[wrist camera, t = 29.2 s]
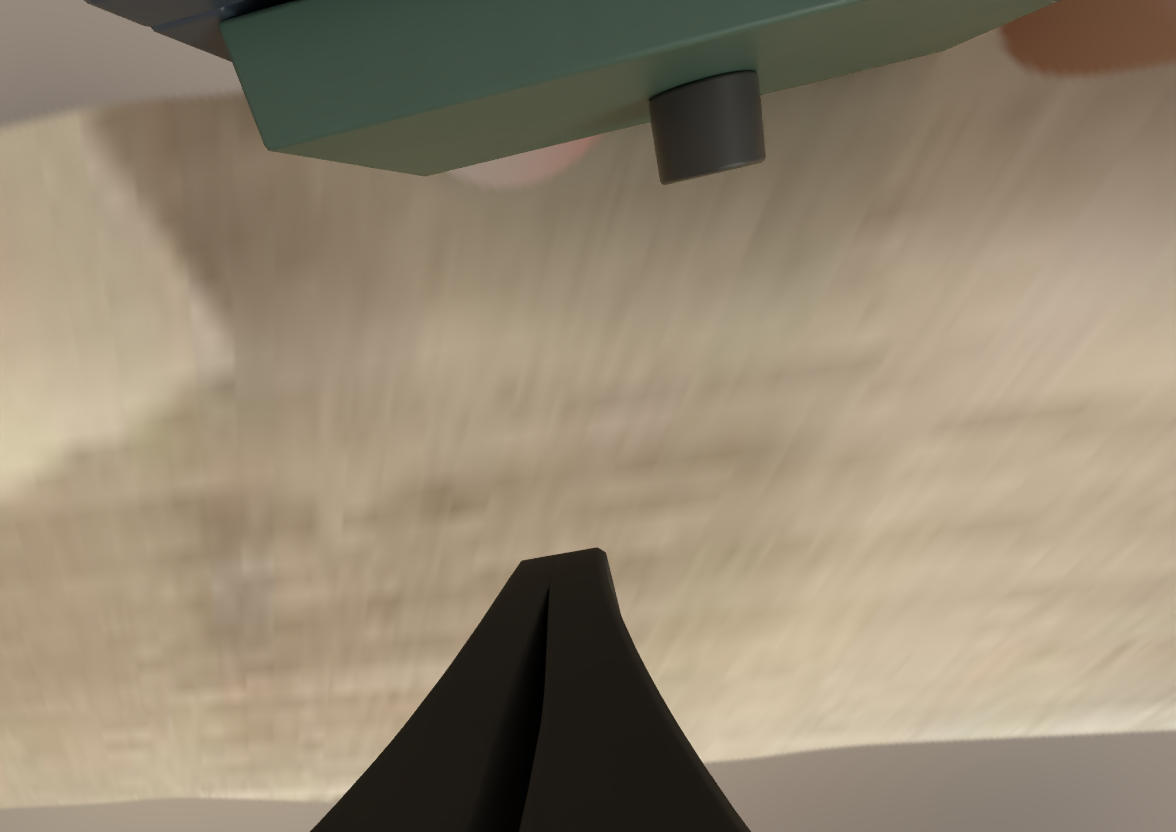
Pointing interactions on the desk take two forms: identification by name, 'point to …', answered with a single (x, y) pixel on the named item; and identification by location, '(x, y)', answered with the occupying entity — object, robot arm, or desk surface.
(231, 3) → the cabinet
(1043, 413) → the desk surface
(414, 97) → the drawer
